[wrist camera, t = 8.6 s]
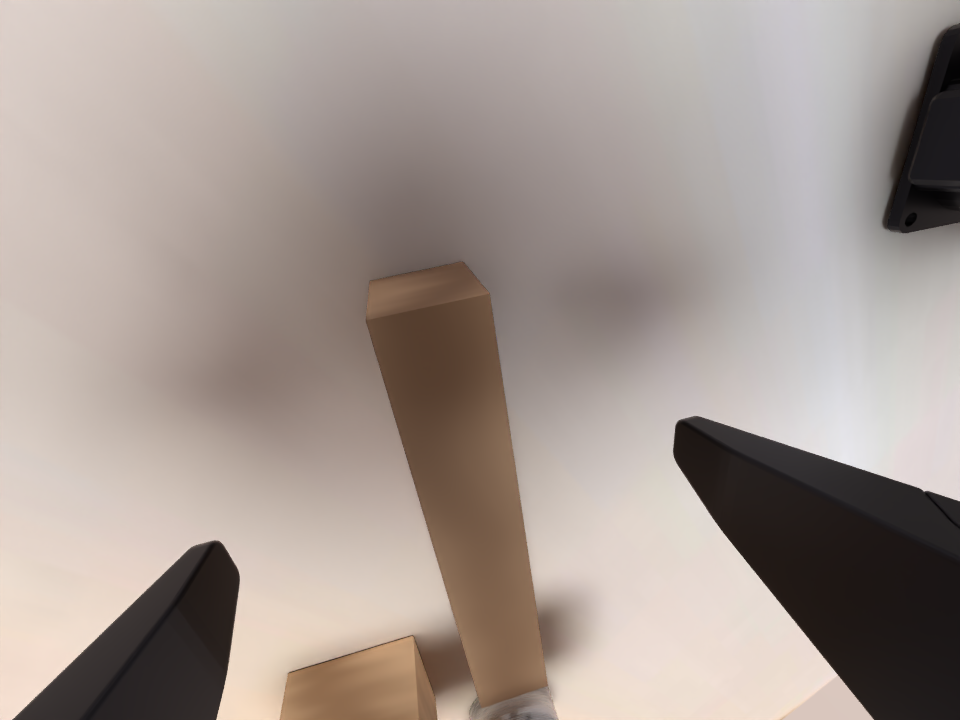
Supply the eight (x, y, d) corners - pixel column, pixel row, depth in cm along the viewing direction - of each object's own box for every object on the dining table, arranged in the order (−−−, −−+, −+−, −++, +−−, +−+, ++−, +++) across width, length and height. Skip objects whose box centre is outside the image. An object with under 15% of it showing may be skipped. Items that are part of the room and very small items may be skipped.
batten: (461, 259, 14) (489, 293, 10) (520, 600, 22) (547, 685, 18) (369, 278, 13) (365, 320, 10) (464, 618, 21) (481, 708, 18)
